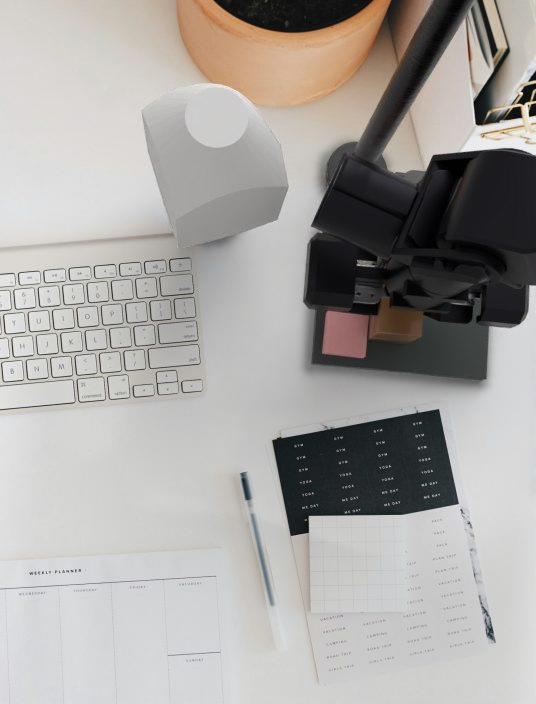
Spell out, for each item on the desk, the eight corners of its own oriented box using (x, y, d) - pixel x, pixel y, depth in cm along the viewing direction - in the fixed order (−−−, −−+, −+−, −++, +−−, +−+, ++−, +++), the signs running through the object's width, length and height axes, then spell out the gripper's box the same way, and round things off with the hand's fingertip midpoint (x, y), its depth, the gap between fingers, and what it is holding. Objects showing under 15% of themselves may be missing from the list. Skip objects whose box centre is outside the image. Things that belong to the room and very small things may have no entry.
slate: (488, 251, 74) (492, 248, 73) (482, 380, 73) (486, 379, 72) (320, 234, 73) (322, 231, 72) (311, 364, 72) (312, 363, 71)
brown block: (411, 264, 72) (427, 250, 67) (406, 345, 71) (422, 336, 66) (371, 259, 72) (384, 245, 67) (365, 340, 71) (378, 332, 66)
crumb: (366, 317, 72) (369, 315, 70) (362, 358, 71) (365, 356, 70) (325, 313, 72) (327, 310, 70) (321, 353, 71) (323, 352, 70)
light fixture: (270, 240, 73) (297, 159, 53) (180, 266, 72) (173, 195, 52) (242, 152, 74) (258, 41, 54) (152, 178, 73) (135, 74, 53)
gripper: (569, 168, 57) (489, 229, 72) (328, 142, 56) (300, 210, 72) (563, 310, 56) (484, 341, 71) (317, 286, 55) (291, 323, 70)
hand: (390, 301), depth 71 cm, fingers closed on brown block, 4 cm apart
